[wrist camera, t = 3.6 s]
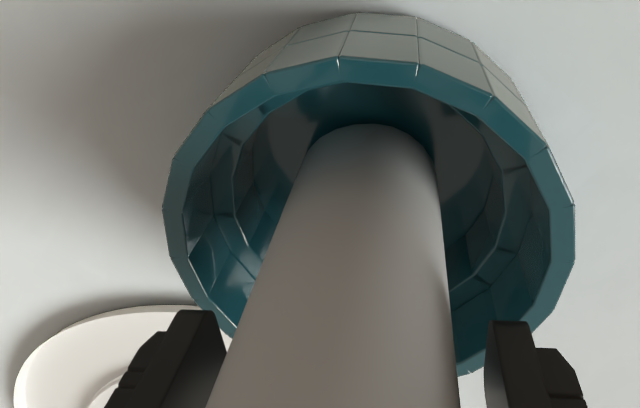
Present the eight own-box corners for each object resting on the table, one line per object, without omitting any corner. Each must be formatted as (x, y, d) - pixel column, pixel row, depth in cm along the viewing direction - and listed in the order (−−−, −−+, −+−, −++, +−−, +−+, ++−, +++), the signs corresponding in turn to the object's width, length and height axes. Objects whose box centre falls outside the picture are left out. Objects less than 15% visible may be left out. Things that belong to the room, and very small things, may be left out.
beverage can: (275, 169, 18) (105, 523, 8) (375, 85, 15) (315, 433, 6) (362, 251, 19) (312, 638, 9) (464, 185, 17) (545, 604, 7)
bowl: (168, 177, 19) (102, 257, 15) (352, -76, 13) (327, -62, 9) (378, 326, 22) (371, 429, 18) (605, 167, 16) (674, 263, 12)
